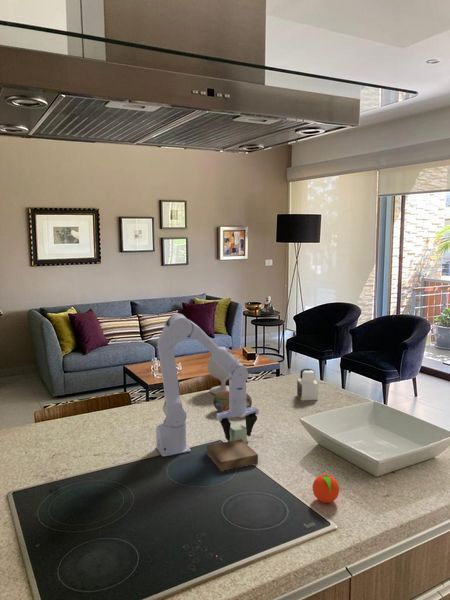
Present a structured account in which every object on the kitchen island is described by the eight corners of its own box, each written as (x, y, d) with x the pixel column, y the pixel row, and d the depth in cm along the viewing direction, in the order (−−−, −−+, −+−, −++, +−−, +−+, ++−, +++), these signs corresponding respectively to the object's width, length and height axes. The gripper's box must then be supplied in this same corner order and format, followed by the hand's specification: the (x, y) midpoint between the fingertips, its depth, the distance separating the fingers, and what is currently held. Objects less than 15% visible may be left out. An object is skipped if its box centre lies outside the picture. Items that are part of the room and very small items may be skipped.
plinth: (221, 471, 147) (221, 462, 146) (207, 454, 158) (206, 445, 157) (257, 463, 151) (257, 454, 151) (241, 447, 162) (241, 439, 162)
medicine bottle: (296, 395, 212) (297, 367, 210) (313, 394, 213) (313, 367, 211) (301, 400, 205) (301, 372, 203) (318, 400, 206) (318, 372, 204)
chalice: (242, 395, 212) (242, 361, 210) (210, 397, 210) (209, 363, 208) (235, 385, 226) (235, 353, 224) (205, 387, 223) (204, 354, 221)
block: (234, 445, 165) (234, 430, 164) (229, 440, 169) (229, 426, 168) (246, 443, 166) (246, 428, 165) (241, 437, 170) (241, 424, 170)
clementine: (343, 509, 127) (344, 483, 126) (317, 511, 126) (317, 485, 125) (334, 493, 135) (335, 468, 134) (309, 494, 134) (309, 469, 133)
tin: (213, 411, 194) (212, 391, 193) (215, 409, 197) (215, 388, 196) (250, 415, 190) (250, 394, 189) (252, 412, 193) (252, 391, 192)
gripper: (222, 405, 159) (222, 445, 161) (262, 399, 164) (262, 438, 166) (214, 398, 165) (214, 437, 167) (253, 392, 171) (253, 430, 173)
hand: (238, 437), depth 167 cm, fingers open, 7 cm apart
